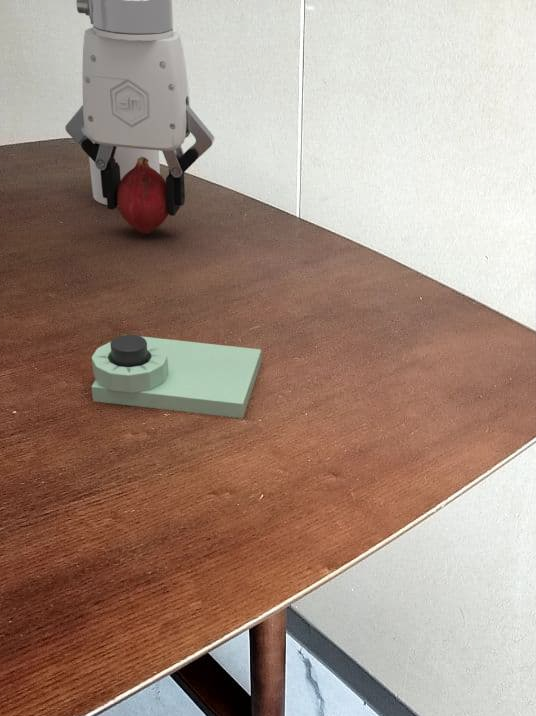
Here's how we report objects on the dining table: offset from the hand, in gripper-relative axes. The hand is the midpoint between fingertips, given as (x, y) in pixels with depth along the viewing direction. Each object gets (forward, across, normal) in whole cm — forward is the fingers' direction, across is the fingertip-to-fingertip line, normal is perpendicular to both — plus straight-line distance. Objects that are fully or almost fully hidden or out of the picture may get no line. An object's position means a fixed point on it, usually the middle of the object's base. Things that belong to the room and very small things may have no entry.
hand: (144, 206), depth 93 cm
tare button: (0, +7, -33) cm, 33 cm away
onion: (+3, 0, 0) cm, 3 cm away
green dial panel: (+3, +11, -30) cm, 33 cm away
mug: (+3, -6, +13) cm, 15 cm away
